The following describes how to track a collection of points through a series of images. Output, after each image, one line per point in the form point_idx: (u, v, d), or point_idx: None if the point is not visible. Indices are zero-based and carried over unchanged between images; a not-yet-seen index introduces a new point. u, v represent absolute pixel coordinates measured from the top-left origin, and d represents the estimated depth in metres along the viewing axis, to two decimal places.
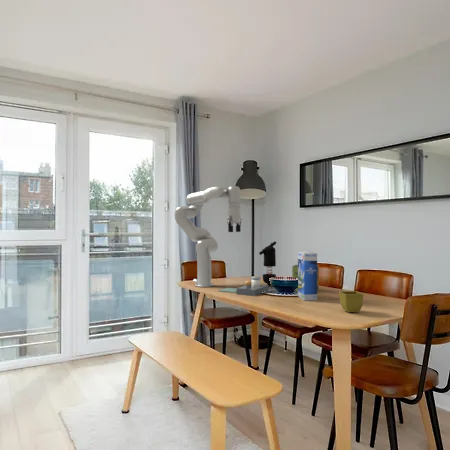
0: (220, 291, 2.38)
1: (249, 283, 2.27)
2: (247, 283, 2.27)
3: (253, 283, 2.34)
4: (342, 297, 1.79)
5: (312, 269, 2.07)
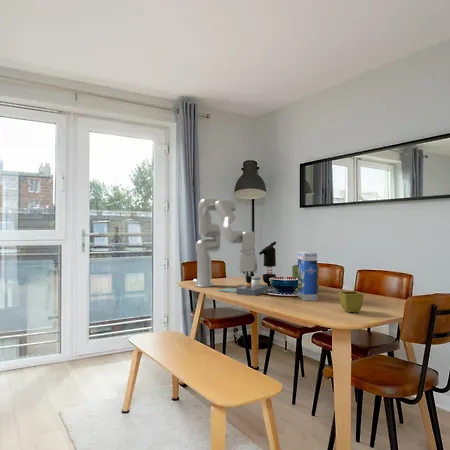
0: (220, 291, 2.38)
1: (249, 285, 2.27)
2: (247, 285, 2.27)
3: (253, 283, 2.34)
4: (342, 297, 1.79)
5: (312, 269, 2.07)
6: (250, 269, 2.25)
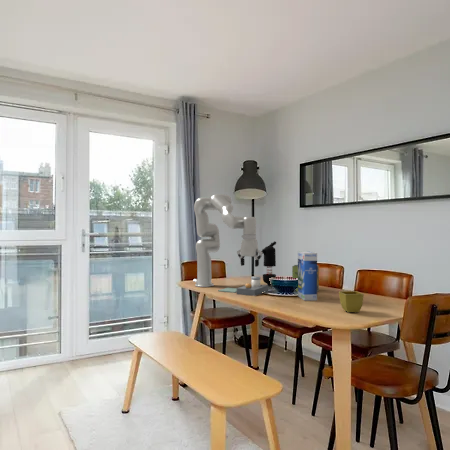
0: (220, 291, 2.38)
1: (249, 286, 2.27)
2: (247, 286, 2.27)
3: (253, 283, 2.34)
4: (342, 297, 1.79)
5: (312, 269, 2.07)
6: (251, 254, 2.26)
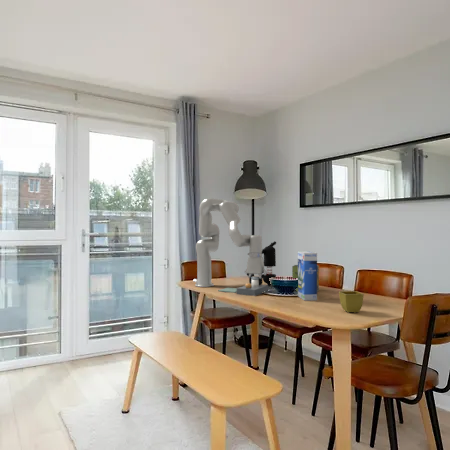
0: (220, 291, 2.38)
1: (249, 286, 2.27)
2: (247, 286, 2.27)
3: (253, 283, 2.34)
4: (342, 297, 1.79)
5: (312, 269, 2.07)
6: (257, 272, 2.33)
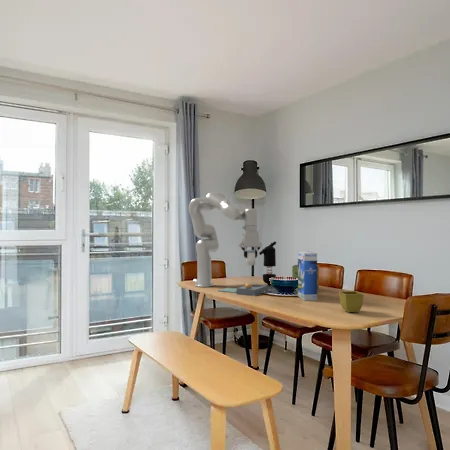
0: (220, 291, 2.38)
1: (249, 286, 2.27)
2: (247, 286, 2.27)
3: (251, 256, 2.35)
4: (342, 297, 1.79)
5: (312, 269, 2.07)
6: (256, 244, 2.35)
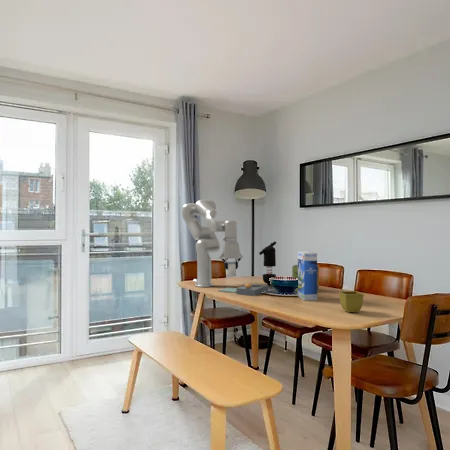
0: (220, 291, 2.38)
1: (249, 286, 2.27)
2: (247, 286, 2.27)
3: (232, 267, 2.38)
4: (342, 297, 1.79)
5: (312, 269, 2.07)
6: (236, 256, 2.38)
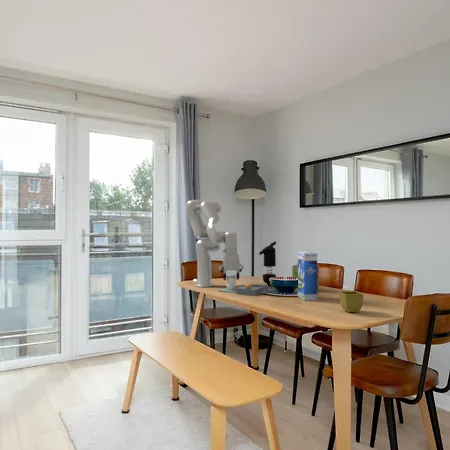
0: (220, 291, 2.38)
1: (249, 286, 2.27)
2: (247, 286, 2.27)
3: (231, 281, 2.38)
4: (342, 297, 1.79)
5: (312, 269, 2.07)
6: (236, 267, 2.39)
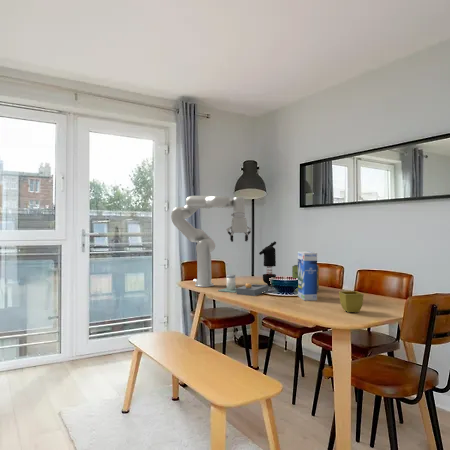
0: (220, 291, 2.38)
1: (249, 286, 2.27)
2: (247, 286, 2.27)
3: (231, 281, 2.38)
4: (342, 297, 1.79)
5: (312, 269, 2.07)
6: (244, 230, 2.52)
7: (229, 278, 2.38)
